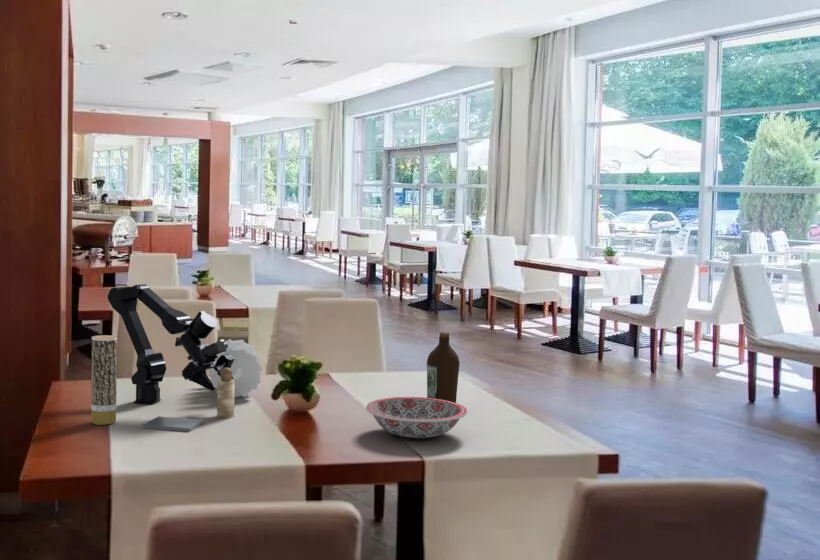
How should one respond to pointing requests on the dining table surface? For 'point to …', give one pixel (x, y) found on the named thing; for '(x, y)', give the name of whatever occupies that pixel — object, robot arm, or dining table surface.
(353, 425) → the dining table surface
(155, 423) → the slate board
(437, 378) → the olive oil
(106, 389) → the paper tube
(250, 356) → the spiral staircase
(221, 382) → the pepper mill
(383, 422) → the ceramic bowl
